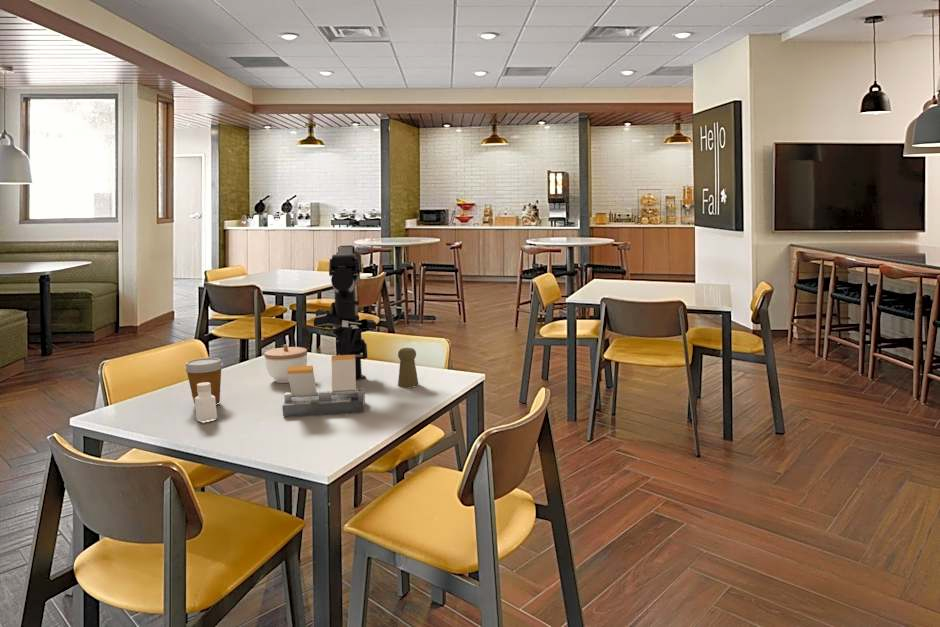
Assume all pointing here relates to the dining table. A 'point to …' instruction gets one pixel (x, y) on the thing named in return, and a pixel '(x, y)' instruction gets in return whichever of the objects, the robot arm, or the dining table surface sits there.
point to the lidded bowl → (284, 361)
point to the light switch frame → (324, 404)
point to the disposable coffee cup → (205, 375)
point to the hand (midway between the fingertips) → (346, 354)
